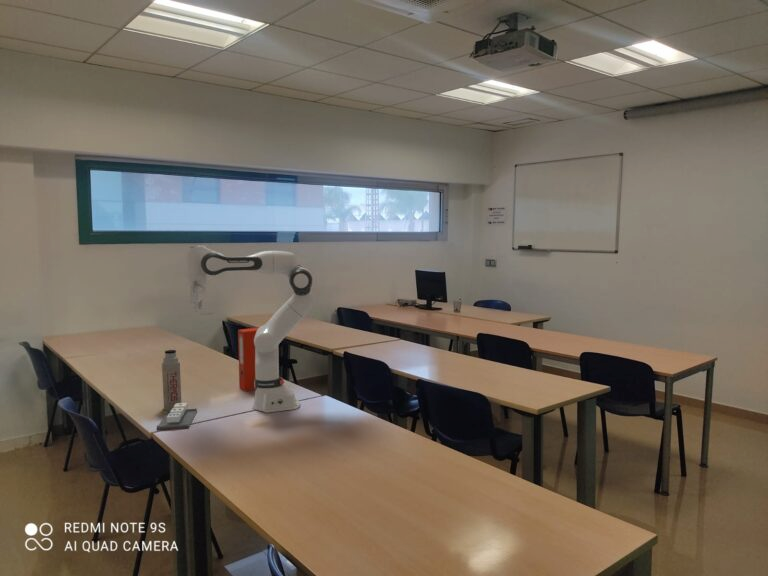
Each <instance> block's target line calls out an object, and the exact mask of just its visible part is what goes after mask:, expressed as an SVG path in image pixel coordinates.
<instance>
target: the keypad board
mask: <svg viewBox="0 0 768 576" xmlns="http://www.w3.org/2000/svg"><path fill="white" fill-rule="evenodd" d="M166 411H167V412H166V413H165V415H164V416H163V417H162V419H161V421H160V422H159V423H158V425H156V431H165V430H166V431H167V430H177V429H178V430H181V429H190V427H191V425H192V423H193V421H194V419H195V416H196V415H197V412H198V408H197V407H196V408H187V409H186V411H184V412H185V413H184V414H183V416H181V420H180V421H179V422H169V423H167V416H168V414H169V413H170V411H171V410H166Z"/></svg>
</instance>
